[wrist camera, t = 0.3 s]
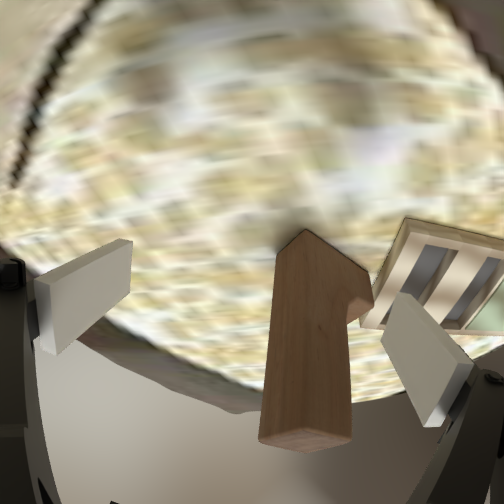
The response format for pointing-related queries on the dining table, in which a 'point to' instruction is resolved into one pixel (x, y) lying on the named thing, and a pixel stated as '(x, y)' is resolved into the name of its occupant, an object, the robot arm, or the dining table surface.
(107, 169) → the dining table surface
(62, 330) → the robot arm
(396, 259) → the board
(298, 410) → the wooden block
